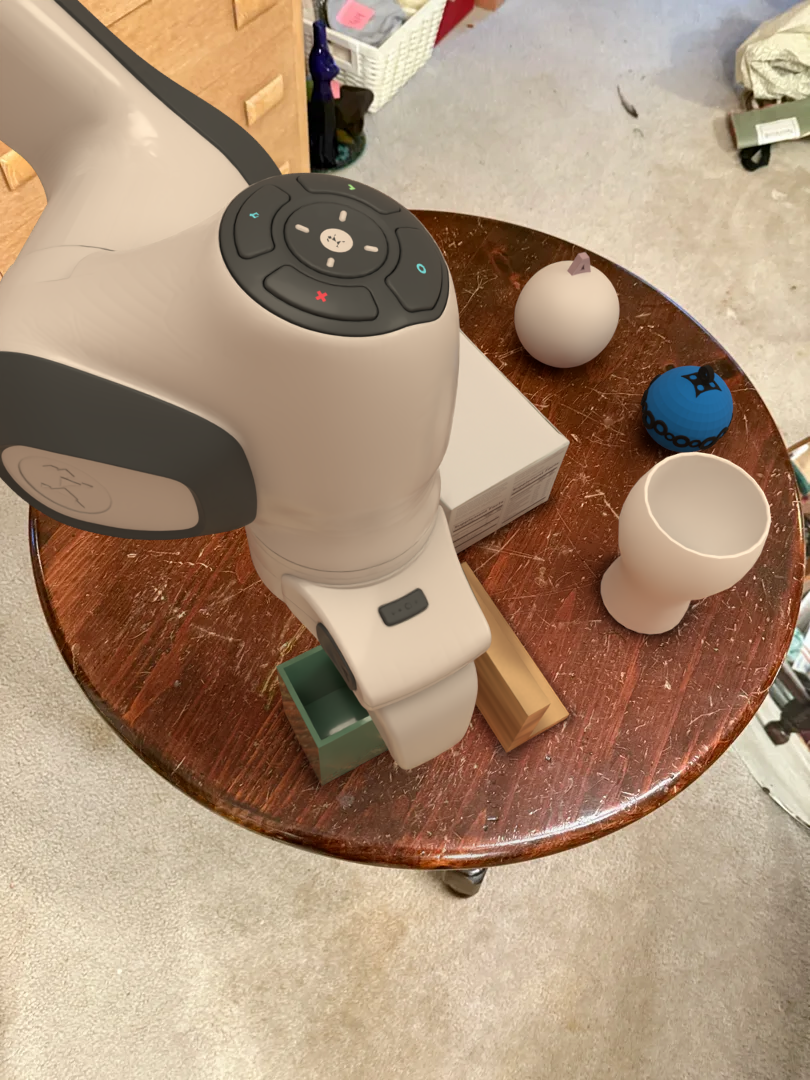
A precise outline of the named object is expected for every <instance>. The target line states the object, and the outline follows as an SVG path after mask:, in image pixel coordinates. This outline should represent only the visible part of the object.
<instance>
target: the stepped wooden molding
mask: <svg viewBox="0 0 810 1080" xmlns="http://www.w3.org/2000/svg"><path fill="white" fill-rule="evenodd" d="M460 564H461V566H462V568H463V570H464V573H465V575H466V577H467V580H468V582H469V584H470V586H471V588H472V591H473V593H474V595H475V597H476V599H477V601H478V603H479V605H480V607H481V610H482V612H483V614H484V616H485V618H486V620H487V623H488V625H489V627H490V631H491V645H490V647H489V649H488V650H487V651H486V652H485V653H483V654H482V655H481V656H479V657H478V658H476V659H475V660H474V664H475V667H476V672H477V679H478V691H477V698H476V702H475V706H476V707H477V708H478V710H479V712H480V713H481V715H482V716H483V719H485V721H486V722H487V724H488V726H489V728H490V729H491V730H492V731H491V732H492V733H493V734H494V735H495V737H496V739H497V740H498V742H499V743H500V745H501V747H502V748H503V750H504V751H505V753H509V752H510V751H512V750H515V749H516V748H518V747H519V746H521V745H523V744H525V743H526V742H527V741H529V740H531V739H533V738H535V737H537V736H538V735H540V734H542V733H543V732H545V731H547V730H549V729H550V728H552V727H554V726H556V725H557V724H559V723H561V722H563V721H564V720H566V719H567V718H568V717H569V716H570V713H569V711H568V710H567V708H566V707H565V706H564V703H563V702H562V701H561V700H560V697H558V695H557V694H556V692H555V691H554V689H553V687H552V686H551V684H550V683H549V682H548V680H547V679H546V677H545V676H544V675H543V673H542V671H541V670H540V668H539V667H538V665H537V664H536V662H535V661H534V659H533V658H532V656H531V655H530V654H529V652H528V651H527V650H526V648H525V646H524V645H523V643H522V642H521V641H520V639H519V638H518V636H517V635H516V633H515V631H514V630H513V629H512V627H511V626H510V624H509V623H508V621H507V620H506V618H505V616H504V615H503V614H502V613H501V611H500V609H499V608H498V607H497V605H496V604H495V602H494V600H493V599H492V598H491V596H490V595H489V594H488V592H487V590H486V589H485V587H484V585H482V583H481V581H480V580H479V579H478V577H477V575H476V574H475V572H474V571H473V570H472V569H471V567H470V565H469V564H468V562H467V561H463V562H460Z"/></svg>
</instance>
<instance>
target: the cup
mask: <svg viewBox="0 0 810 1080" xmlns="http://www.w3.org/2000/svg"><path fill="white" fill-rule="evenodd" d="M771 523H772V517H771V508H770V504H769V501H768V498H767V496H766V494H765V492H764V490H763V489H762V488H761V486H760V485H759V483H758V482H757V481H756V479H754V477H752V475H750V474H749V473H748V472H747V471H746V470H745V469H743V468H742V467H740V466H739V465H737V464H735V463H733V462H732V461H731V460H729V459H726V458H723V457H720V456H718V455H715V454H712V453H705V452H699V451H695V452H689V453H683V452H678V453H677V454H673V455H670V456H666V457H665V458H663V459H662V460H660V461H659V462H658V463H655V464H654V466H652V467H651V468H650V469H649V470H648V471H647V472H645V474H643V475H642V476H641V477H639V479H638V480H637V481H636V483H635V484H634V485H633V487H632V488H631V489H630V491H629V492H628V494H627V496H626V498H625V500H624V502H623V504H622V507H621V510H620V513H619V516H618V536H617V537H618V542H617V543H618V544H617V545H618V549H619V553H620V555H619V556H618V557H616V559H615V560H613V562H612V563H611V564H610V566H608V568H607V569H606V570H605V572H604V573H603V575H602V579H601V581H600V595H601V599H602V601H603V602H602V603H603V605H604V606H605V608H606V610H607V612H608V614H610V616H611V617H612V618H613V619H614V620H615V621H616V622H617V623H619V624H620V625H622V626H624V627H625V628H626V629H628V630H631V631H632V632H633V631H634V632H636V633H638V634H644V635H660V634H663V633H666V632H669V631H671V630H673V629H674V628H675V627H677V626H678V625H679V624H680V622H681V620H682V619H683V618H684V616H685V614H686V613H687V611H688V609H689V606H690V604H691V602H692V601H699V600H703V599H706V598H708V597H711V596H714V595H716V594H719V593H722V592H723V591H727V590H728V589H730V588H732V587H733V586H734V585H735V584H737V583H738V582H740V581H741V580H742V579H743V578H744V577H745V576H746V574H748V573H749V571H750V570H751V569H752V568H753V567H754V566H755V564H756V563H757V561H758V559H759V557H760V556H761V555H762V553H763V552H762V551H763V549H764V546H765V544H766V541H767V538H768V536H769V532H770V528H771Z"/></svg>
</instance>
